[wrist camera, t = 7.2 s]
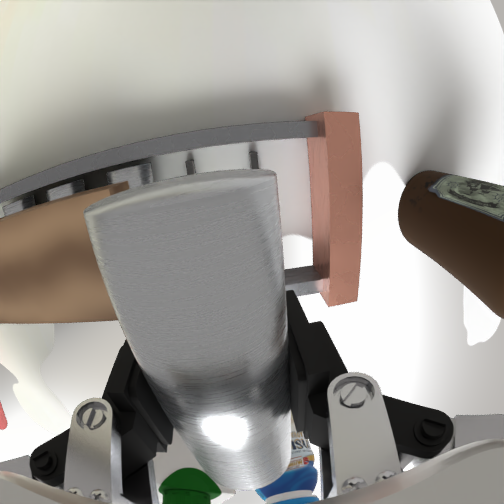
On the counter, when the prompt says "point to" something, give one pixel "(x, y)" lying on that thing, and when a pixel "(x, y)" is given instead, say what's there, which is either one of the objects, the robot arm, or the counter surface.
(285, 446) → the roller
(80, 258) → the slab
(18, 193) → the track
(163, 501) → the milk carton
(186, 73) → the counter surface
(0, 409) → the artery
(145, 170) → the roller
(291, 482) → the beverage bottle
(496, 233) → the olive oil
